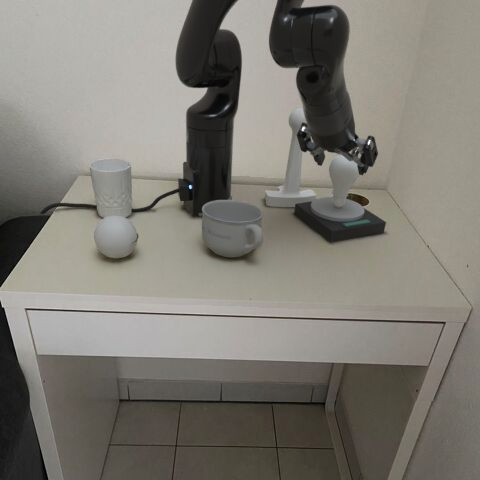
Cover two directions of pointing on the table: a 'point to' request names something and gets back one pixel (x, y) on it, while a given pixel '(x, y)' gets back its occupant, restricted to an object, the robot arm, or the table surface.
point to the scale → (339, 219)
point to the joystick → (291, 171)
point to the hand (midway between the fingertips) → (342, 166)
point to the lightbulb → (342, 178)
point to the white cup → (112, 186)
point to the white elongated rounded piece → (115, 236)
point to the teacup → (232, 227)
